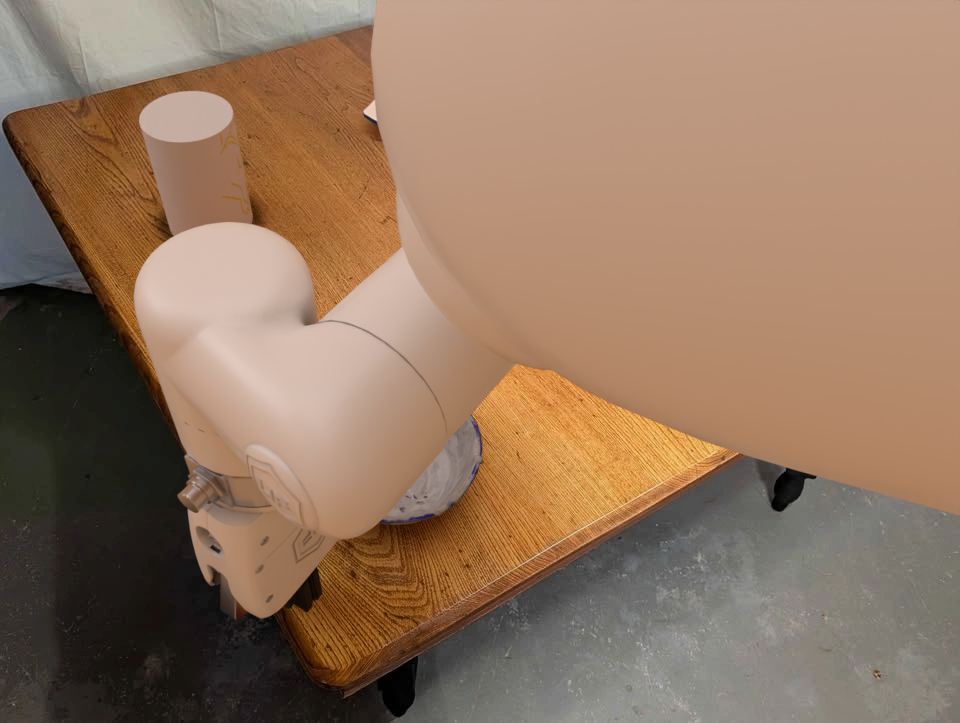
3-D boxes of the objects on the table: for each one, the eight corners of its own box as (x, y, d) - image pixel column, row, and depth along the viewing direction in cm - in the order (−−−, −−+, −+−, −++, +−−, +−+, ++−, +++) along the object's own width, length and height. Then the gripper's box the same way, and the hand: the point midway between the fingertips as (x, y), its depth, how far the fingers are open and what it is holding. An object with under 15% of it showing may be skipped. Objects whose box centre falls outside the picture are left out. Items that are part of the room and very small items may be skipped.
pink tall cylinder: (256, 240, 84) (236, 136, 75) (170, 252, 82) (139, 147, 73) (248, 190, 89) (229, 87, 80) (167, 199, 87) (138, 95, 78)
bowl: (467, 407, 71) (470, 370, 68) (491, 544, 63) (495, 510, 59) (311, 420, 70) (305, 383, 66) (314, 562, 61) (308, 529, 58)
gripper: (215, 584, 39) (268, 717, 53) (400, 376, 48) (404, 538, 62) (98, 507, 41) (178, 654, 55) (295, 322, 50) (321, 489, 64)
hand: (297, 592), depth 58 cm, fingers closed
